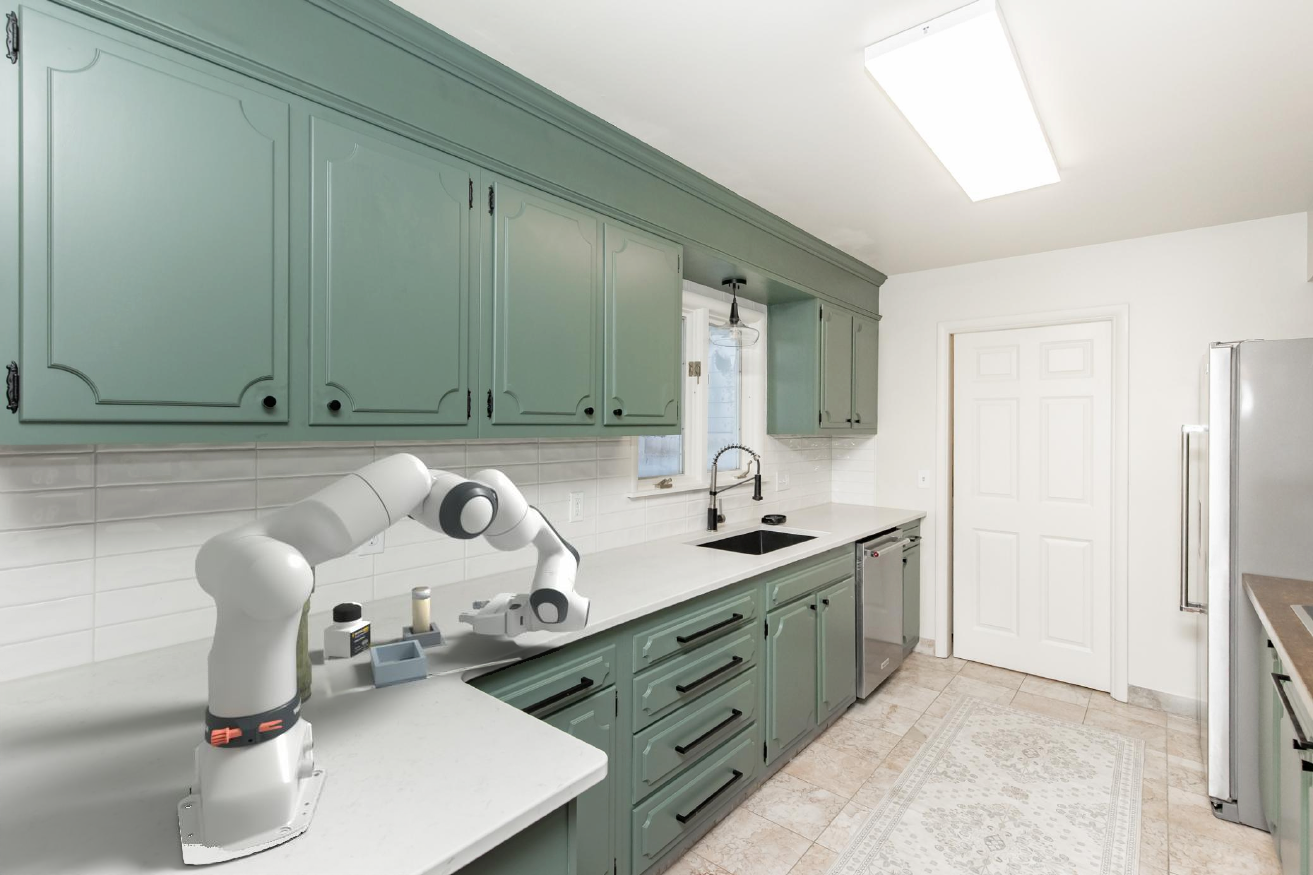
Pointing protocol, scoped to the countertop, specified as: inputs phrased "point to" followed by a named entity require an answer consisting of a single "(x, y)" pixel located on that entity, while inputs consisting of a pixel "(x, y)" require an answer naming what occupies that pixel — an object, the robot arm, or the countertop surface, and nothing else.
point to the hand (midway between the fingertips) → (466, 610)
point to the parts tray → (397, 663)
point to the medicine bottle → (347, 632)
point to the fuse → (421, 609)
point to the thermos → (304, 652)
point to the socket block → (424, 636)
